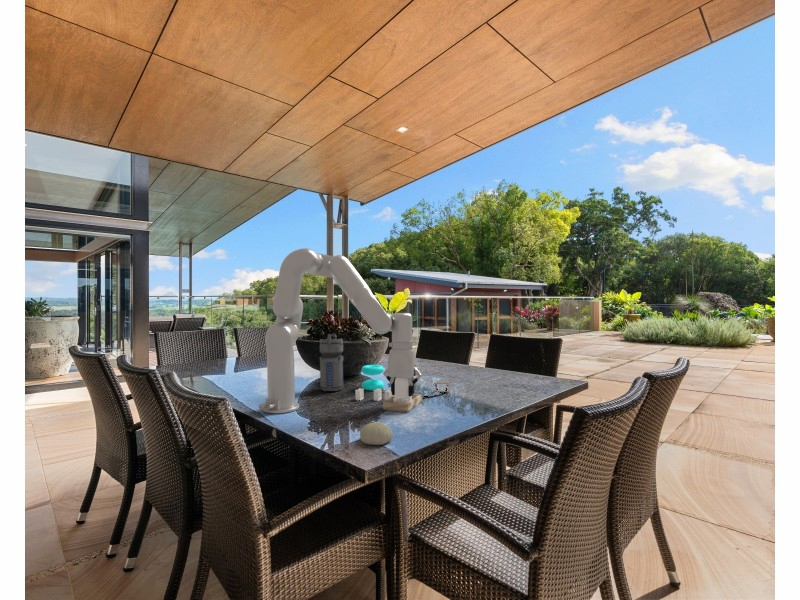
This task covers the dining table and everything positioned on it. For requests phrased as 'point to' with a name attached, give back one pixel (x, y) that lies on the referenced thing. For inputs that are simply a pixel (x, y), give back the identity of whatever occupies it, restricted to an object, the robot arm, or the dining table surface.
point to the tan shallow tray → (402, 404)
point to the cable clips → (377, 394)
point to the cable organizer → (402, 390)
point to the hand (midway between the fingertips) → (402, 394)
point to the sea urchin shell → (376, 434)
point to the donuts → (372, 383)
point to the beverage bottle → (331, 363)
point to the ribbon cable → (428, 396)
